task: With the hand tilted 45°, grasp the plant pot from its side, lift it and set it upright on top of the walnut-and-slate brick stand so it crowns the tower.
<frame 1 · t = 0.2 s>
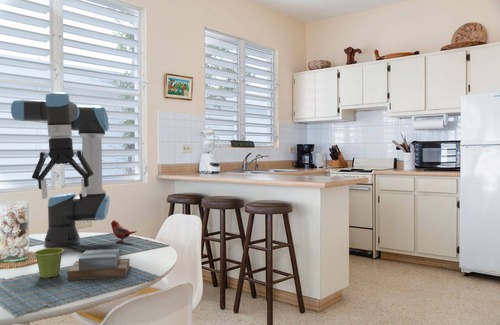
hand: (64, 197, 145), 27 cm above the table, tool pointing down, fingers open, 13 cm apart
plant pot: (49, 276, 144), on the table
brick stand: (100, 272, 147), on the table
decorative bird figurine: (123, 242, 194), on the table
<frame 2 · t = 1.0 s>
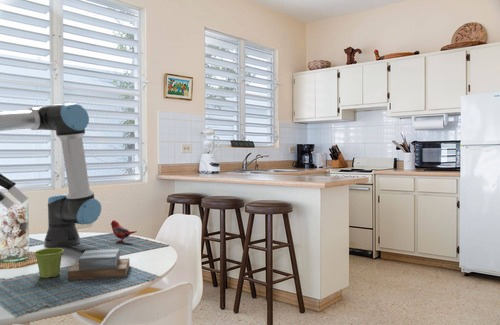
hand: (18, 203, 141), 26 cm above the table, tool tilted 45°, fingers open, 13 cm apart
nothing on the table moved.
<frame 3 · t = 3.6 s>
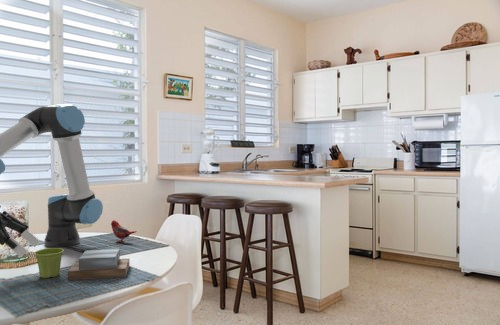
hand: (31, 248, 141), 10 cm above the table, tool tilted 45°, fingers open, 13 cm apart
nothing on the table moved.
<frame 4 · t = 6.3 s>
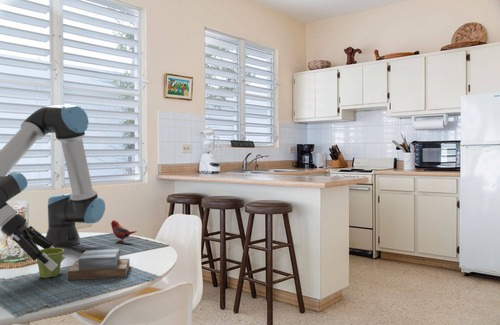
hand: (59, 264, 144), 4 cm above the table, tool tilted 45°, fingers closed on plant pot, 9 cm apart
plant pot: (49, 276, 144), on the table, touching gripper
everything else where it was.
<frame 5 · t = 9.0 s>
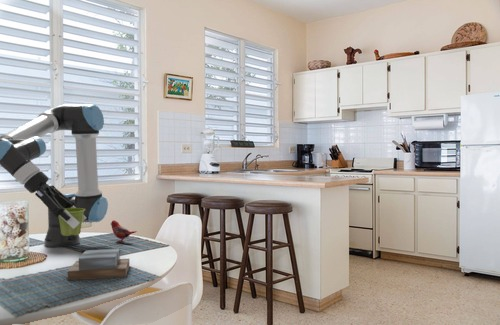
hand: (80, 223, 144), 18 cm above the table, tool tilted 45°, fingers closed on plant pot, 9 cm apart
plant pot: (70, 234, 143), point 14 cm above the table, touching gripper
everything else where it was.
when the fingers open (12 cm above the table, at t = 12.1 s): plant pot drops 1 cm, resting on brick stand.
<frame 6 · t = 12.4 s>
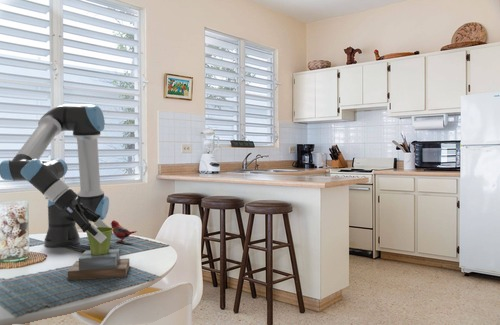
hand: (106, 236, 147), 13 cm above the table, tool tilted 45°, fingers open, 13 cm apart
plant pot: (99, 254, 147), point 7 cm above the table, touching brick stand
everything else where it was.
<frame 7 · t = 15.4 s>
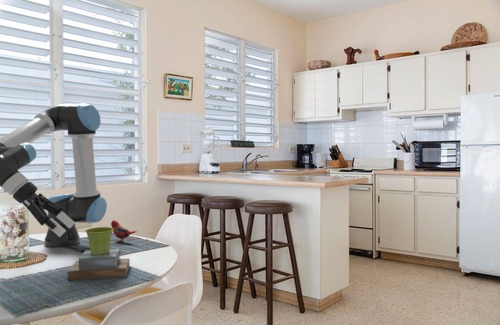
hand: (68, 229, 144), 16 cm above the table, tool tilted 45°, fingers open, 13 cm apart
nothing on the table moved.
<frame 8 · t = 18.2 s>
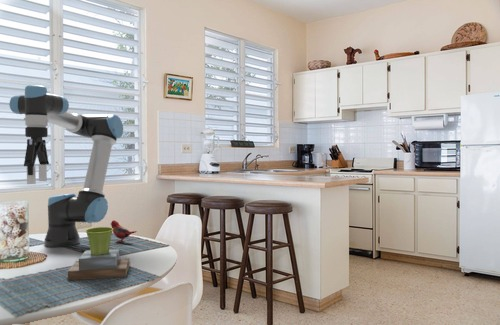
hand: (37, 182, 156), 32 cm above the table, tool pointing down, fingers open, 13 cm apart
nothing on the table moved.
at the end: plant pot inside the target area on the brick stand (0.1 cm from its centre), point 6.8 cm above the brick stand's base; plant pot tilted 0°; the gripper is holding nothing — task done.
